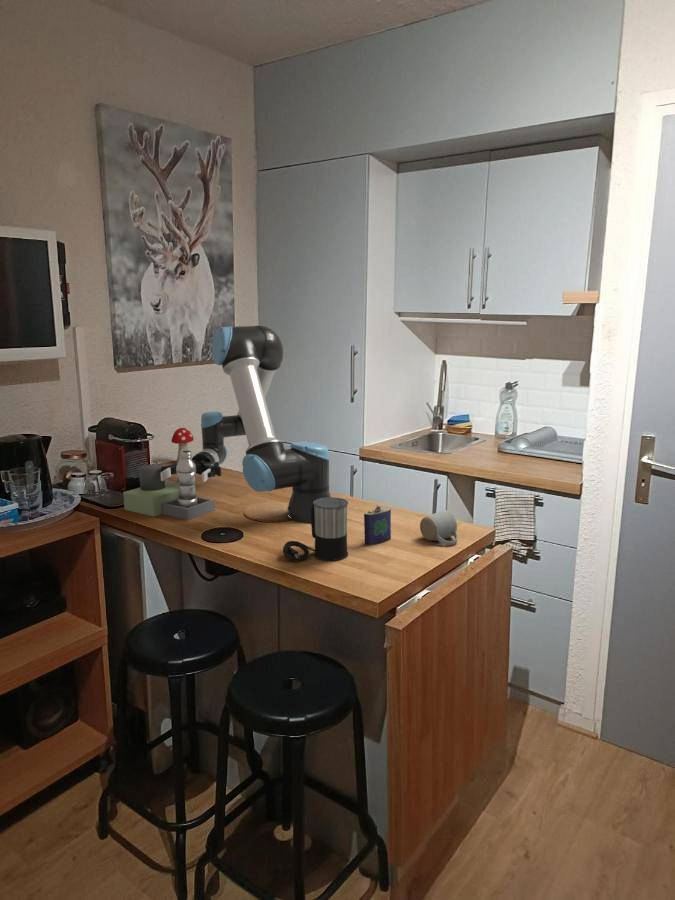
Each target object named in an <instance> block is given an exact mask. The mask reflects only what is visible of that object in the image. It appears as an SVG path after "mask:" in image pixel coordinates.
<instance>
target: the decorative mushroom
mask: <svg viewBox="0 0 675 900" xmlns="http://www.w3.org/2000/svg"><path fill="white" fill-rule="evenodd" d="M194 439H195V438H194V435H193V433H192V432H191V431H190V429H188V428H186V427H180V428H178V429H176V430H175V431H174V433H173V435H172V437H171V443H172V444H178V451H177V458H176V463H178V462H179V461H180V459H181V458H180V451H189V447H188V444H189V443H191V442H194Z"/></svg>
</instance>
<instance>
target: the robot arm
mask: <svg viewBox="0 0 675 900" xmlns="http://www.w3.org/2000/svg"><path fill="white" fill-rule="evenodd" d="M211 341H212V342H211V356H212V360H213V362H214V364H215V365H216V366H222V369H223V370H222V371H223V373H224V374H226V375H228V376H229V377H230V381H231V384H232V388H233V392H234V395H235V398H236V399H235V400H236V403H237V406H238V412H237V414H236V415H226V416H225V415H224V416H223V413H222V412H221V411H205V412H203V413H202V414H201V419H200V423H201V424H200V427H201V439H202V443H201V444H202V450H200V451H199V452H198V453H196V454H194V455H192V457H191V459H192V461H193V462H194V463H195V465H196V474H197V475H200V476H201V481H202V483H205V482H207V481H208V480H209V479H210V478H213V477H216V476H217V477H221V476H222V468H221V465H222V464H223V463H224V461H226V459H227V457H228V450H227V449H228V448H226V446H225V445H224V438H230V437H240V436H246V440H247V443H248V447H247V448H246V450H245V456H244V457H243V459H242V462H241V465H242V474H243V475H244V478H245V481H246V483H247V484H248V486H249V487H250V488H251V489H252V490H254V491H255V492H259V493H262V492H273V491H275V490H281V489H282V490H283V489H286V488H287V489H288V488H292V489H291V496H290V499H289V502H288V504H287V511H286V513H287V514H288V515H289V516H290V517H291V519H290V520H292V521H295V522H302V523H311V505H312V503H313V502H314V501H315V500H317V499H320V498H326V497H332V495H331V491H330V455H329V449H328V447H327V446H326V445H325V444H321V443H316V442H307V441H295V442H292V443H291V445H290V448H289V449H288V448H286V449H285V446H284V443H283V441H282V440H280V439H278V438H277V436H276V433H275V429H274V426H273V422H272V419H271V415H270V414H271V413H270V411H269V407H268V405H267V401H266V397H267V395H268V392H269V389H270V386H271V384H272V381H273V378H274V376H275V373H276V371H278V370H279V369H280V367H281V365H282V362H283V358H284V347H283V342H282V341H281V339H280V336H279V335H278V334H277V332H276V331H274V330H272V328H270V327H268V326H265V325H242V326H241V325H240V326H232V325H229V326H222V327H219V328H217V329H216V330H215V332H214V334H213V337H212V340H211ZM177 464H178V463H177V462H175V463H172V464H171V463H170V464H168V465H163V467H161V473H160V474H161V481H164V480H168V478H170V477H172V475H175V474H176V475H177V471H176V466H177Z"/></svg>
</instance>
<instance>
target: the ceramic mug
mask: <svg viewBox="0 0 675 900" xmlns="http://www.w3.org/2000/svg"><path fill="white" fill-rule="evenodd" d="M457 527H458V525H457V521H456V517H454V515H453V514H452V512H451V511H449V510H446V509H444V510H440V511H438V512H435V513H432V514H431V513H430V514H429V515H426V516H424V517H423V518H422V519H421V520H420V523H419V530H420V533H421V535H422V537H423V538H424V539H425V540H427V541H429V542H435V541H438V542H439V543H441V544H442V545H445V546H454V545H455V544H457V541H458V539H459V538H458V534H457V531H458V530H457V529H458V528H457ZM451 537H453V538H454V540H446V539H448V538H451Z"/></svg>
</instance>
